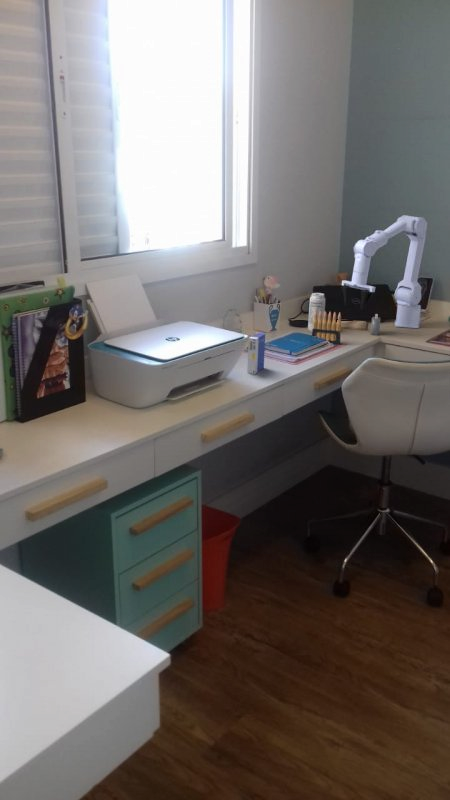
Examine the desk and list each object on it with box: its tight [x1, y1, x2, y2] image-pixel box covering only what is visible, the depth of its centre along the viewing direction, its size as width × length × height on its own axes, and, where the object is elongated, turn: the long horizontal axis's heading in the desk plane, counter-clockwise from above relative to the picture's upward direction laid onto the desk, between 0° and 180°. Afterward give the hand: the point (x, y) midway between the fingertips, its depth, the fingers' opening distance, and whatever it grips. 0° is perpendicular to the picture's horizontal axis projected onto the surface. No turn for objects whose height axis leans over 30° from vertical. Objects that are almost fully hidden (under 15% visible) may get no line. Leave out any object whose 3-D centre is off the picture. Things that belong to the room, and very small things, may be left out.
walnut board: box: [336, 320, 367, 331], centre depth 299 cm, size 13×12×1 cm
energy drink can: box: [307, 292, 326, 334], centre depth 286 cm, size 6×6×15 cm
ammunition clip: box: [311, 310, 342, 345], centre depth 272 cm, size 11×2×12 cm, turn 73°
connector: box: [370, 313, 381, 337], centre depth 287 cm, size 3×6×8 cm, turn 169°
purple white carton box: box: [246, 331, 266, 375], centre depth 237 cm, size 8×3×12 cm, turn 155°
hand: (354, 307), depth 283 cm, fingers open, 7 cm apart
